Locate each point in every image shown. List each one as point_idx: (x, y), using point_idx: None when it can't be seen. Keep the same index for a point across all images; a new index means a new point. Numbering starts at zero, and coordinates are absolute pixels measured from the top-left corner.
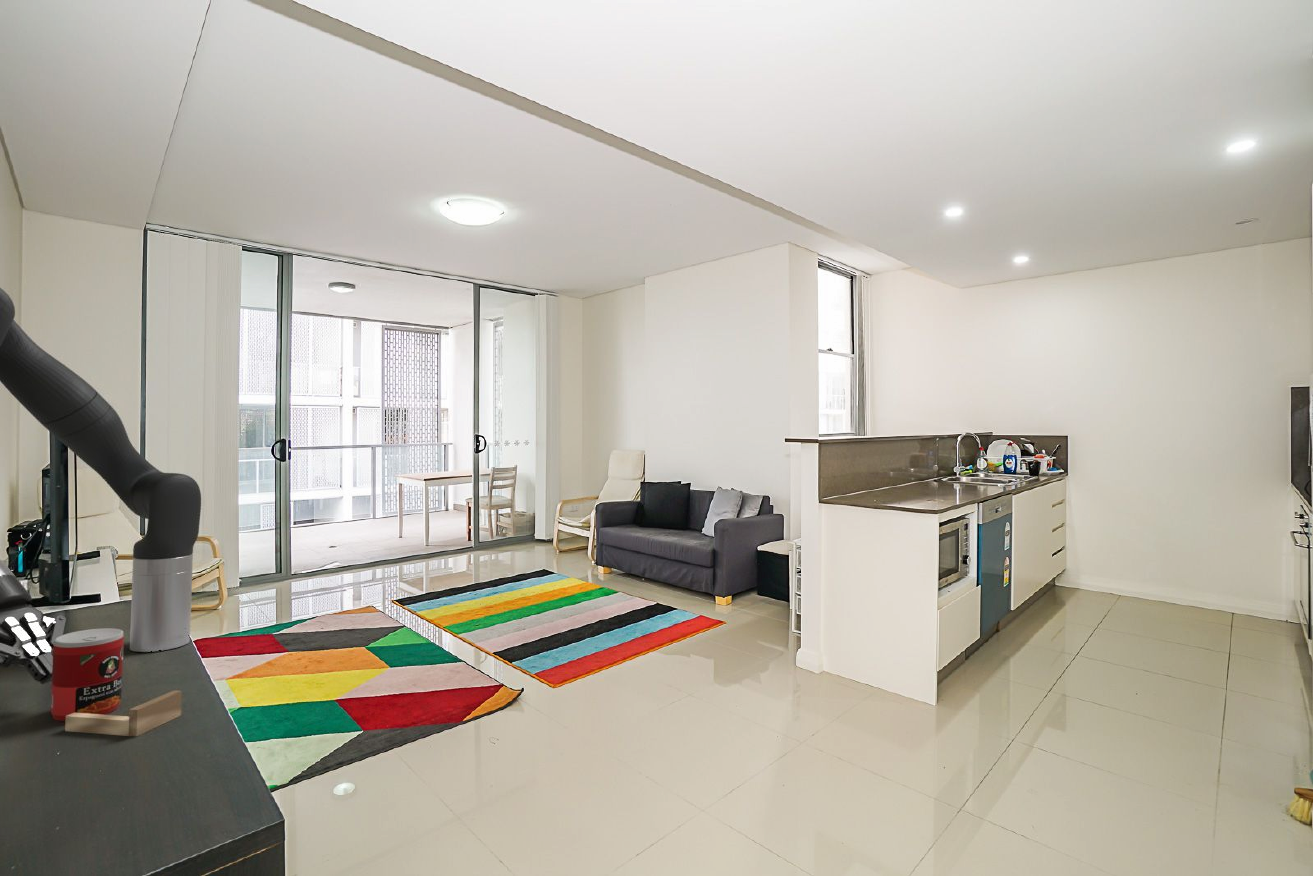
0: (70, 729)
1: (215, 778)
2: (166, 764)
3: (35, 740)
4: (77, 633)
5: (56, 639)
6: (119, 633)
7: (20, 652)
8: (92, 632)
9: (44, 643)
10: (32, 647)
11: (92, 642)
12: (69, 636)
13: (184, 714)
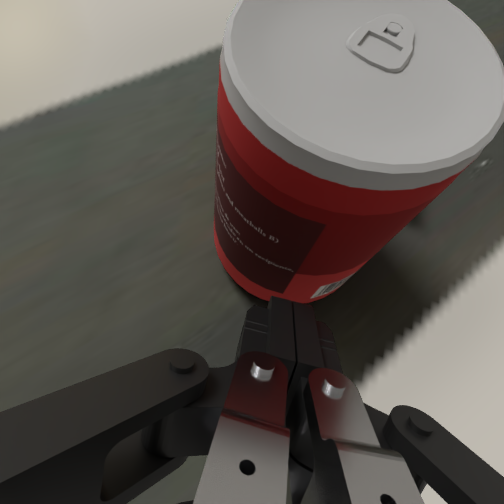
0: None
1: None
2: (478, 21)
3: (447, 238)
4: (317, 131)
5: (471, 143)
6: None
7: (413, 412)
8: (276, 85)
9: (245, 395)
10: (330, 408)
11: (451, 10)
12: (371, 142)
13: None
